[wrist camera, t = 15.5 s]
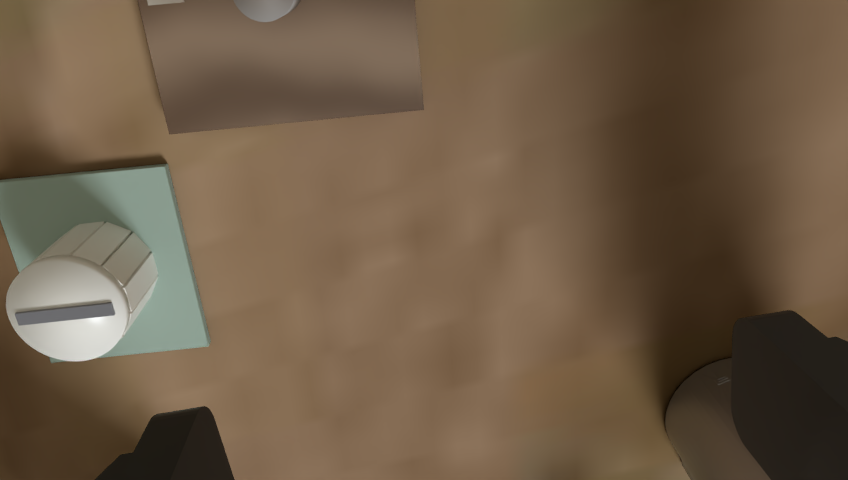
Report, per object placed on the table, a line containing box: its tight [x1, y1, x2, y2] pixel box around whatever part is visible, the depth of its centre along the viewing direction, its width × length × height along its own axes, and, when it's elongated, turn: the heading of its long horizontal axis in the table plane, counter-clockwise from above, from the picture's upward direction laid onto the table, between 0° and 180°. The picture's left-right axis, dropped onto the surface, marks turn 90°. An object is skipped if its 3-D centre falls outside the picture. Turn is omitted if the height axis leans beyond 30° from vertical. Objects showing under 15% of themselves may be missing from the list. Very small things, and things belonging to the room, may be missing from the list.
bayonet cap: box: [6, 221, 158, 361], centre depth 38 cm, size 6×6×6 cm
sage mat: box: [0, 164, 211, 363], centre depth 41 cm, size 12×10×1 cm
